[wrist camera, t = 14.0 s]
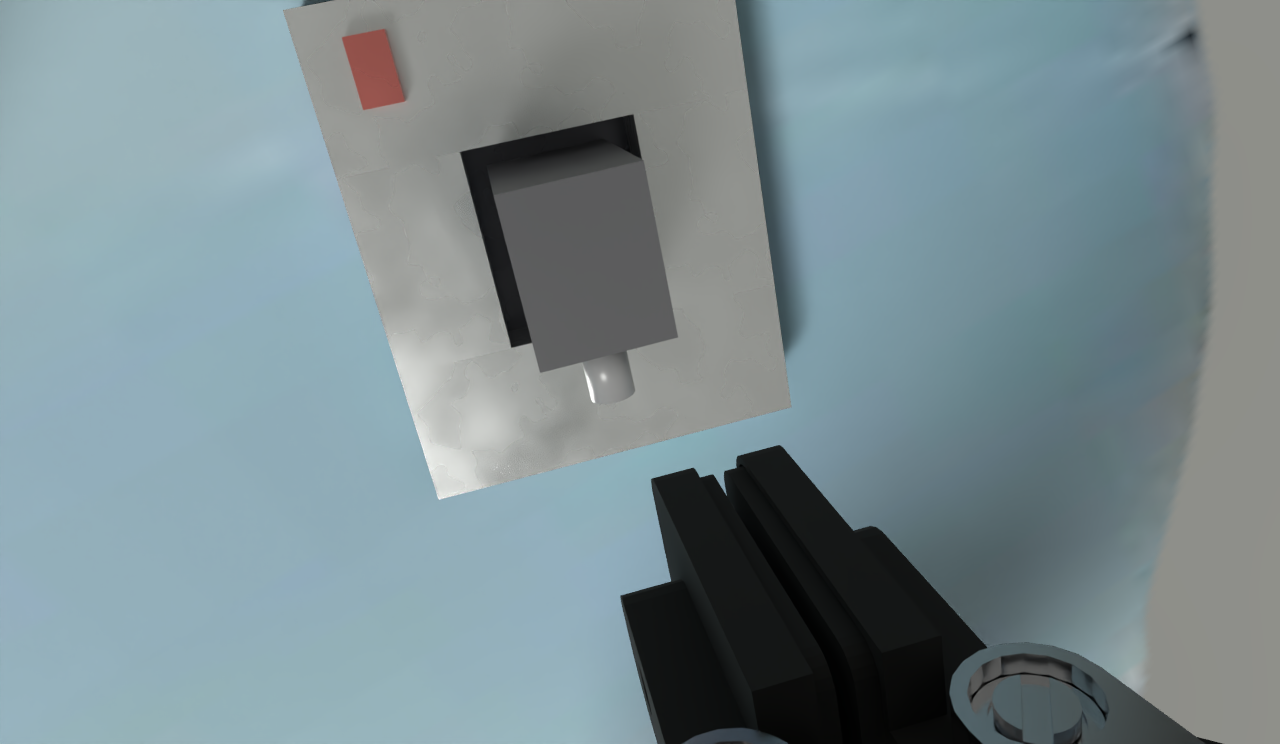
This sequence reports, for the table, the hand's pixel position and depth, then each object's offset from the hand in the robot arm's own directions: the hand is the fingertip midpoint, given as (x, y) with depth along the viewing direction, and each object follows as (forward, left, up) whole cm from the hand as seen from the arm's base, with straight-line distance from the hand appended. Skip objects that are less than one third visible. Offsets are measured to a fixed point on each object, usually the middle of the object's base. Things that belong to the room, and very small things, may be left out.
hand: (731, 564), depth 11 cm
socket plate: (0, -1, -21) cm, 21 cm away
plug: (0, -1, -21) cm, 21 cm away
